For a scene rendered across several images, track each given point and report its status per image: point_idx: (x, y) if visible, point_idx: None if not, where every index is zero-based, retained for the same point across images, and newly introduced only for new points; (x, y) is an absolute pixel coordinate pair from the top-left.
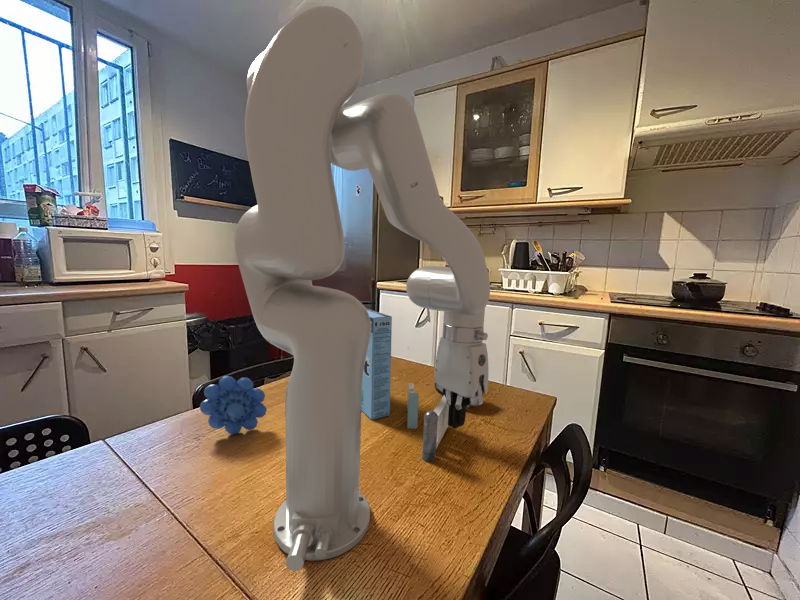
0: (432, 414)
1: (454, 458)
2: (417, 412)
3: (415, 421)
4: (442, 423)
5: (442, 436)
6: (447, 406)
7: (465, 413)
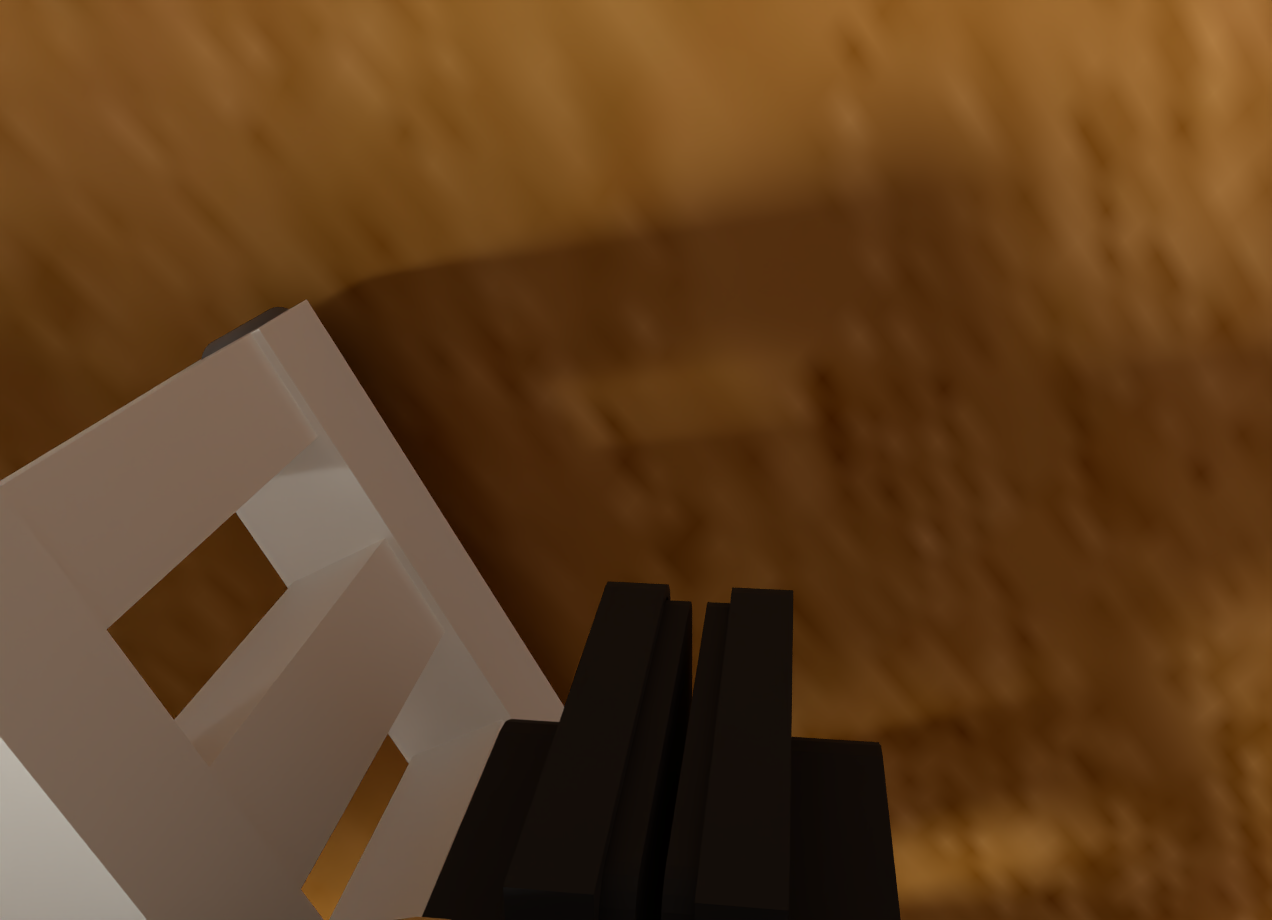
0: None
1: (1006, 886)
2: None
3: None
4: None
5: (555, 700)
6: (129, 602)
7: (894, 886)
